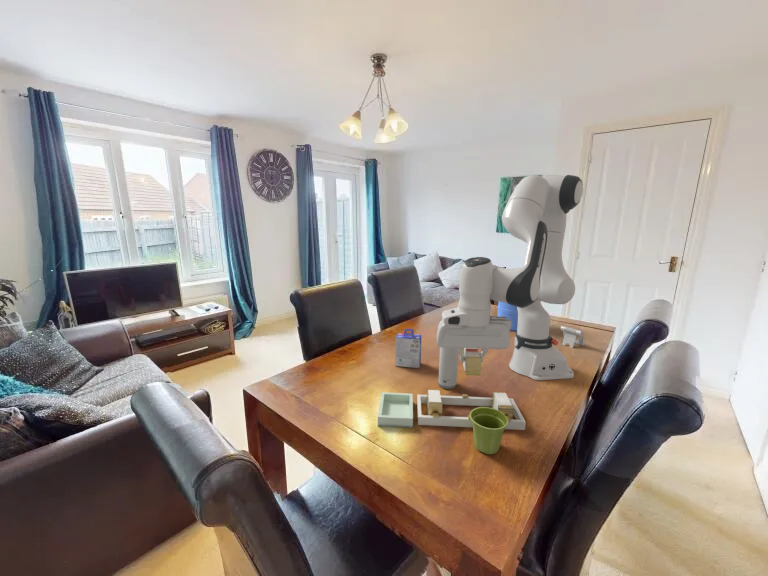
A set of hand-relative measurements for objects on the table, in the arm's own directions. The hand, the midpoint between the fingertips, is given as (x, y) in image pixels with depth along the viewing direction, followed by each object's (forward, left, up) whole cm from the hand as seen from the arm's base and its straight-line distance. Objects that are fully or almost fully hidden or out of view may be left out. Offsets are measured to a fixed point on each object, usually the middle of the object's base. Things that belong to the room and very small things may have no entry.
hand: (471, 361), depth 94 cm
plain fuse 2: (-10, 0, -18) cm, 20 cm away
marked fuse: (0, 0, -3) cm, 3 cm away
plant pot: (-3, +14, -18) cm, 23 cm away
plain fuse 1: (+10, 0, -18) cm, 20 cm away
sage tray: (+22, +1, -18) cm, 28 cm away
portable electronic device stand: (-57, -58, -18) cm, 83 cm away
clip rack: (0, 0, -18) cm, 18 cm away
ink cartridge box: (+18, -32, -18) cm, 41 cm away
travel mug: (+4, -17, -18) cm, 25 cm away
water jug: (-37, -81, -18) cm, 91 cm away
